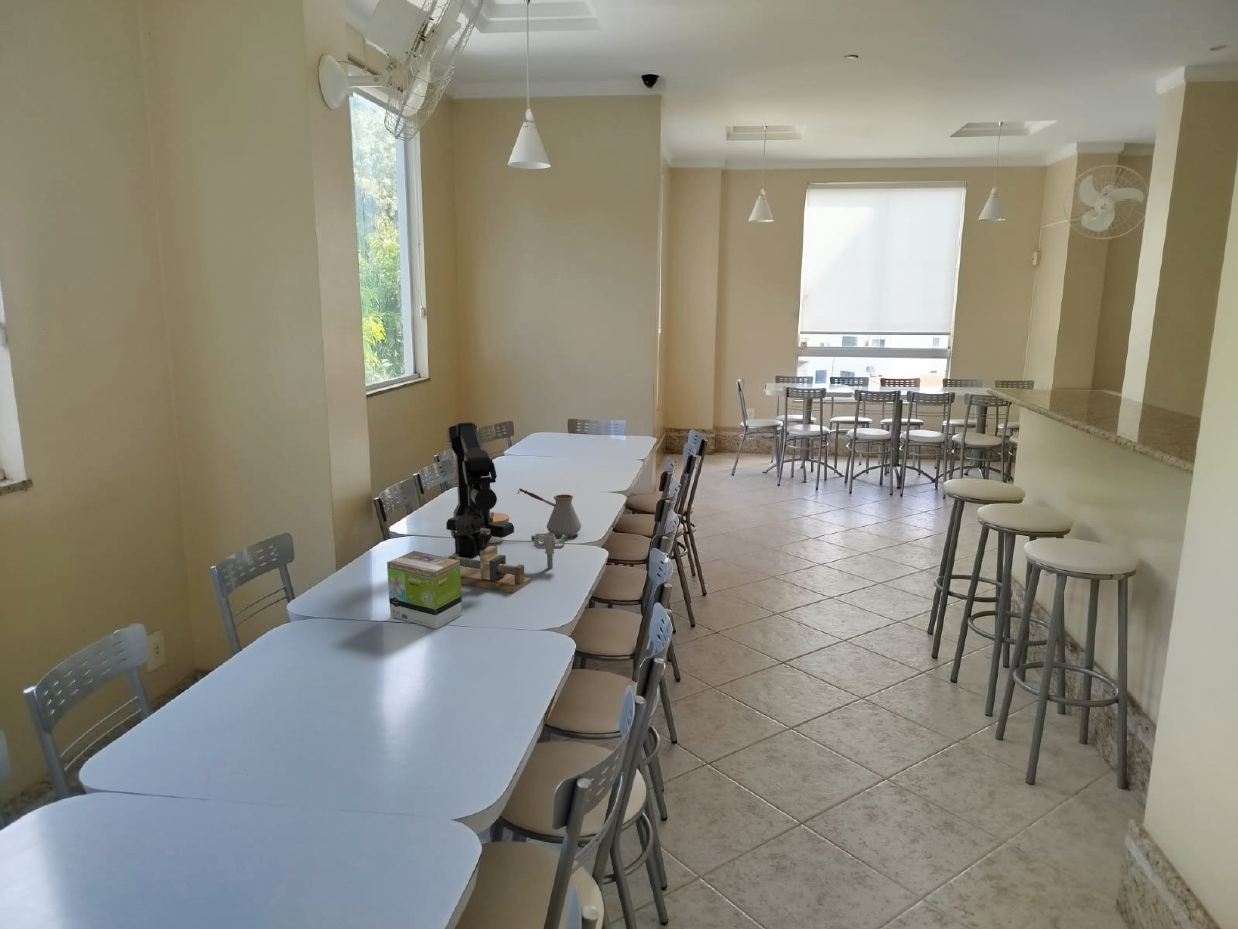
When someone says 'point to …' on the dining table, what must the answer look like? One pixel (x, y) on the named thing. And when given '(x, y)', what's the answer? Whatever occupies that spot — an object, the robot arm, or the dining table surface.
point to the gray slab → (493, 567)
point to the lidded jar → (496, 519)
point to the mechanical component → (548, 545)
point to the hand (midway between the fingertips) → (480, 556)
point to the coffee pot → (561, 515)
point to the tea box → (424, 589)
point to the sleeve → (487, 560)
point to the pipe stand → (503, 584)
